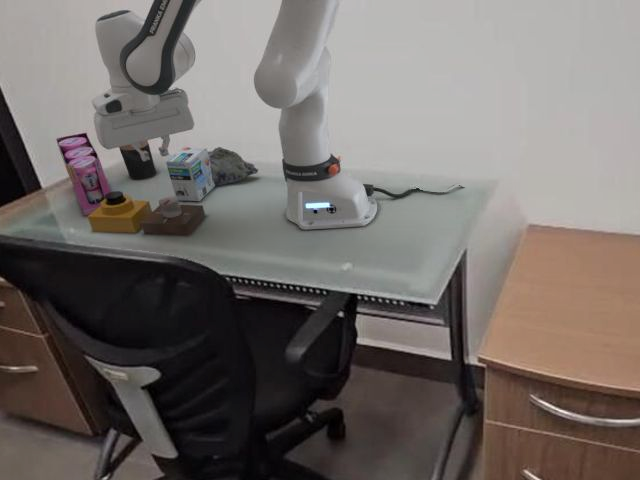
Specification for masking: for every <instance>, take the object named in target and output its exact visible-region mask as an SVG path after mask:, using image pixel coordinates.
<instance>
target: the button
mask: <svg viewBox="0 0 640 480" xmlns="http://www.w3.org/2000/svg"><path fill="white" fill-rule="evenodd" d="M124 195H125V194H124V193H123V191H121V190H119V191H118V190H114V191H111V192H110V193H108V194H106V195H105V199H106V201H107V204H108V205H118V204H121V203H123V202H125V198H124Z"/></svg>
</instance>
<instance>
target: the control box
mask: <svg viewBox="0 0 640 480" xmlns="http://www.w3.org/2000/svg"><path fill="white" fill-rule="evenodd" d="M123 195H124V198H125V202H123V203H121V204H118V205H108V204H107V201H106V199H104V200H103V201H102V202H101V206H99V207H98V208H97V209H96V210H95V211H93V212H92V213H91V214H90V215H86V216H87V219H88V222H89V225H90V227H91V230H92V232H103V233H104V232H105V233H129V234H130V233H132V234H136V233H138V231H139V230H141V228H142V225H141V222H143V221H144V220H145V219H146V218H147V217H148V216H149V215H150V214H151V213H152V212H153V209H152V207H151V204H150V200H133V198H132V196H130V195H128V194H123Z"/></svg>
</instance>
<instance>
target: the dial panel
mask: <svg viewBox="0 0 640 480" xmlns="http://www.w3.org/2000/svg"><path fill="white" fill-rule="evenodd" d="M180 207H181V210H182V213H181V214H180V215H179V216H177V217H173V218H165V217H163V215H162V211H161V208H160V205H158V206H157V207H156V208H155V209H154V210H152V213H151V214H150V215H149V216H148V217H147V218H146V219H145V220H144V221H143V222H141V225H142V227H141V228H142V230H143V233H144V235H156V236H157V235H158V236H159V235H160V236H161V235H162V236H190V234H191V233H192V232H193V231H194V230H195V229H196V228H197V226H198V225H199V224H200V223H201V222H202V221H203V220H204V219H205V218H206V213H205V209H204V206H203V205H202V204H198V205H197V204H180Z"/></svg>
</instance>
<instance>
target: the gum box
mask: <svg viewBox="0 0 640 480" xmlns="http://www.w3.org/2000/svg"><path fill="white" fill-rule="evenodd" d="M56 145H57V147H58V149H59V152H60V155H61V158H62V161H63V164H64V167H65V169H66V172H67V175H68V177H69V180H70V182H71V185H72V187H73V190H74V192H75V195H76V197H77V200H78V202H79V205H80V207H81V210H82V213H83V215H84V216H89V215H90V214H91V213H92V212H93V211H95V210H96V209H97V208H98V207H99V206H101V202H102V201H103V200H104V199H105V195H106V194H108V193H110V192H112V191H111V189H110V188H111V187H110V186H109V183H108V179H107V177H106V174H105V172H104V169H103V166H102V162H101V160H100V158H99V155H98V153H97V151H96V149H95V148H94V146H93V144H92V142H91V139H90V138H89V136H88V133H87V132H81V133H77V134H71V135H67V136H61V137H57V138H56Z"/></svg>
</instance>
